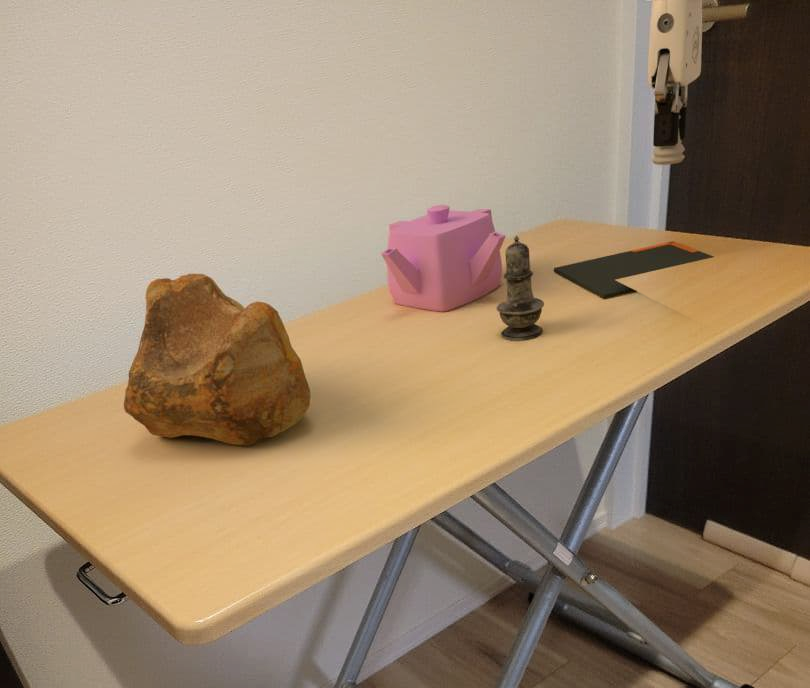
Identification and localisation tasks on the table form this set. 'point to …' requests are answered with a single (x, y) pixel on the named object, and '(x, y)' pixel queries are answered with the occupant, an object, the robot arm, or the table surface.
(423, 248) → the teakettle
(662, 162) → the rook chess piece
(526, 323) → the salt shaker
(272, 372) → the rough brown rock
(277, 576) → the table surface
